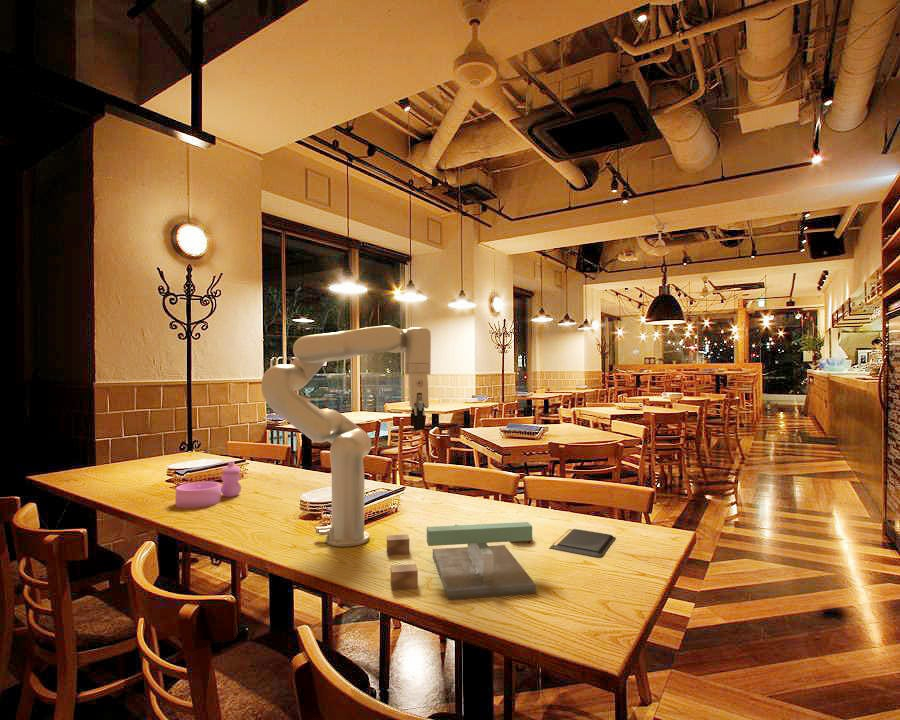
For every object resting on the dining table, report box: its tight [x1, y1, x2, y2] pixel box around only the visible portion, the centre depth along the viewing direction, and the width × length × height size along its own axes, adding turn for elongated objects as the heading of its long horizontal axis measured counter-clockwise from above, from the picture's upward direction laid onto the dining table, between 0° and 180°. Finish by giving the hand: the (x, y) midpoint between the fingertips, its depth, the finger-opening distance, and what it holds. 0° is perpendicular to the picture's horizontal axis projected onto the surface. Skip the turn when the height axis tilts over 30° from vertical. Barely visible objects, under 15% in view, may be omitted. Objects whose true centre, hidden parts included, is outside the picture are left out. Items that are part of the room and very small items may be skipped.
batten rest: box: [386, 534, 419, 591], centre depth 127 cm, size 6×26×4 cm, turn 10°
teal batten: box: [426, 521, 533, 547], centre depth 124 cm, size 4×26×4 cm, turn 100°
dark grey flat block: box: [548, 528, 617, 559], centre depth 146 cm, size 20×2×15 cm
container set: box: [174, 461, 242, 509], centre depth 193 cm, size 25×15×13 cm, turn 148°
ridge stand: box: [432, 543, 537, 601], centre depth 123 cm, size 20×26×8 cm
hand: (417, 427), depth 147 cm, fingers open, 9 cm apart
